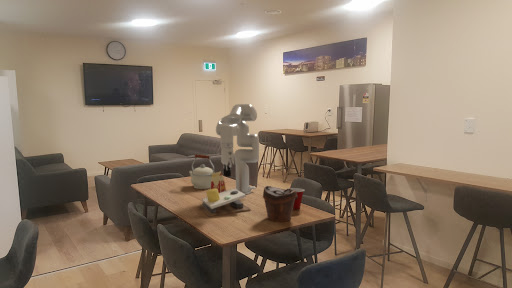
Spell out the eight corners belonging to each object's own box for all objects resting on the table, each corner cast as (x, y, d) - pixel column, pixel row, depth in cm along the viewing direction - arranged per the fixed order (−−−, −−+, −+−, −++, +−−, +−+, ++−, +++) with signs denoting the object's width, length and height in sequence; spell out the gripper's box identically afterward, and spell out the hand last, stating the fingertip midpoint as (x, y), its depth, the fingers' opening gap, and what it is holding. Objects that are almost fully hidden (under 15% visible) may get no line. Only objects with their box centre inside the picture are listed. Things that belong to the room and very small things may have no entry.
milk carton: (227, 199, 241) (227, 170, 239) (220, 203, 233) (219, 172, 230) (215, 198, 245) (215, 169, 242) (208, 201, 237) (207, 171, 234)
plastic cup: (307, 206, 224) (307, 188, 222) (300, 211, 215) (300, 191, 213) (291, 204, 229) (291, 186, 228) (283, 208, 220) (283, 189, 219)
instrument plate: (234, 190, 231) (232, 179, 230) (245, 196, 215) (243, 185, 213) (202, 201, 222) (199, 189, 221) (211, 209, 206) (208, 196, 205)
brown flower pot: (303, 221, 196) (303, 189, 194) (268, 225, 191) (268, 192, 189) (290, 212, 213) (290, 182, 211) (258, 215, 208) (258, 185, 206)
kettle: (221, 186, 279) (221, 154, 276) (206, 191, 264) (205, 157, 261) (197, 182, 292) (196, 152, 290) (181, 186, 277) (180, 154, 274)
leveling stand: (237, 202, 234) (237, 196, 234) (250, 210, 216) (250, 204, 216) (198, 207, 223) (198, 201, 222) (209, 216, 205) (209, 210, 205)
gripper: (238, 146, 207) (238, 178, 209) (227, 143, 221) (228, 173, 224) (225, 147, 204) (226, 179, 206) (216, 144, 218) (216, 174, 220)
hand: (227, 175), depth 215 cm, fingers closed
